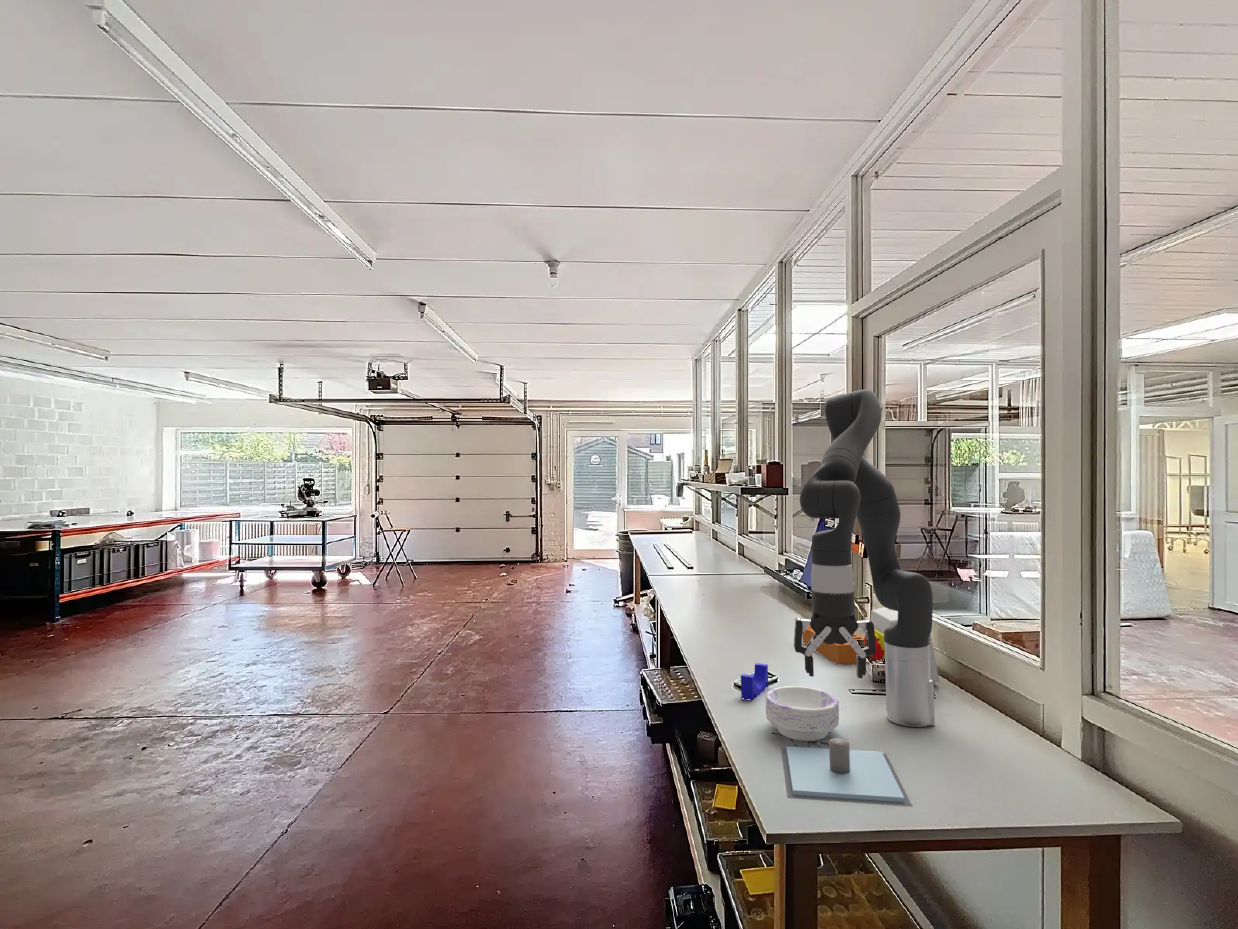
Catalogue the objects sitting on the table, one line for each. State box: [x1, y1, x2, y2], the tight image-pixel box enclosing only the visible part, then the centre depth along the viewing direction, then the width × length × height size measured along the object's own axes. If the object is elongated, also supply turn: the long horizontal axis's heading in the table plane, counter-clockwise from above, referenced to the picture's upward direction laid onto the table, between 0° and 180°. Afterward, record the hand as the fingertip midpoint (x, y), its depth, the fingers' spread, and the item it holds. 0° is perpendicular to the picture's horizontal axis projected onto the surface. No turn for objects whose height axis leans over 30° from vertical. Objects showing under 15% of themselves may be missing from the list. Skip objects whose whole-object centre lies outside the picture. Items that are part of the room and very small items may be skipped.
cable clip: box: [740, 662, 769, 701], centre depth 163 cm, size 12×4×6 cm, turn 149°
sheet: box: [785, 737, 905, 803], centre depth 116 cm, size 18×18×6 cm
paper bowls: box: [765, 685, 840, 742], centre depth 136 cm, size 15×15×8 cm
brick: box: [802, 626, 865, 665], centre depth 197 cm, size 25×12×6 cm, turn 8°
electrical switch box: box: [864, 606, 940, 683], centre depth 171 cm, size 15×15×20 cm
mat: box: [780, 747, 913, 807], centre depth 116 cm, size 20×20×1 cm
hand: (835, 676), depth 117 cm, fingers open, 8 cm apart
